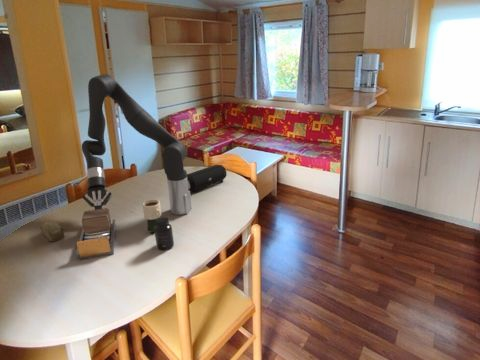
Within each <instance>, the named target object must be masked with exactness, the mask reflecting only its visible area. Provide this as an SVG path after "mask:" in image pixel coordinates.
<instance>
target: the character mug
mask: <svg viewBox="0 0 480 360" xmlns="http://www.w3.org/2000/svg"><path fill="white" fill-rule="evenodd" d="M142 209H143V215H144V219H146V220H147V223H146V224H147V225H146V229H147V231H148V232H149V233H155V232H154V228H155V226H156V219H158V218H160V217H162V211H161V202H160V200H158V199H154V198H153V199H152V198H151V199H148V200H146V201H144V202H143V203H142Z"/></svg>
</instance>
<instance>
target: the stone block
mask: <svg viewBox="0 0 480 360" xmlns="http://www.w3.org/2000/svg"><path fill="white" fill-rule="evenodd" d="M40 231H41V233H42V235H44V236H45V237H46V239H48V240H49V241H50V242H55V241H58V240H62V239H64V238H65V232H64V229H63V227H61V225H59V223H58V222H56V221H55V220H50V221H48V222H45V223H42V224H40Z"/></svg>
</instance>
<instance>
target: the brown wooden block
mask: <svg viewBox="0 0 480 360" xmlns="http://www.w3.org/2000/svg"><path fill="white" fill-rule="evenodd" d="M111 223H112V220H111V213H110V209H109V208H108V207H104V208H102V209H97V210H95V209H91V210H85V211H84V212H83V215H82V218H81V225H82V229H83V230H84V234H86V233H93V232H99V231H105V230H110V226H111Z"/></svg>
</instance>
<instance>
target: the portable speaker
mask: <svg viewBox="0 0 480 360" xmlns="http://www.w3.org/2000/svg"><path fill="white" fill-rule="evenodd" d="M226 177H227V170H226V168H225V167H224V165H222V164H214V165H211V166H209V167H205V168H202V169H199V170H195V171H192V172H190V173H187V181H188V191H190V193H194V192H196V191H198V190H201V189H204V188H206V187H209V186H212V185H214V184H217V183H220V182H222V181H224V180H225V178H226Z"/></svg>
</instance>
